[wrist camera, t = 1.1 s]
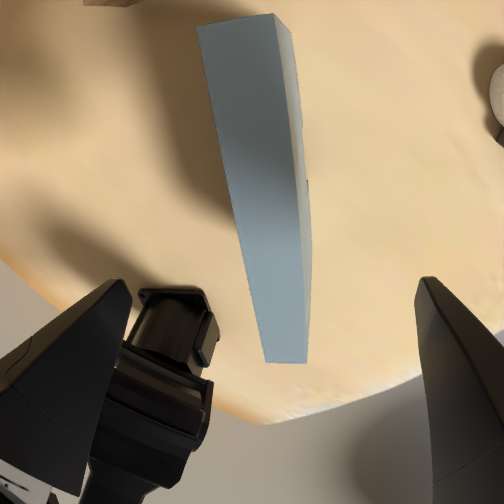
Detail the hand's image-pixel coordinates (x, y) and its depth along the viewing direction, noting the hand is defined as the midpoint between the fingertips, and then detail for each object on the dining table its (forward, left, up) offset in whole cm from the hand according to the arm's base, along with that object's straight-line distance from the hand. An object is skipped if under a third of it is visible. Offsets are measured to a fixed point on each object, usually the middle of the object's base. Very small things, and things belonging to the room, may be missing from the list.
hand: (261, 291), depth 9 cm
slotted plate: (0, 0, -11) cm, 11 cm away
